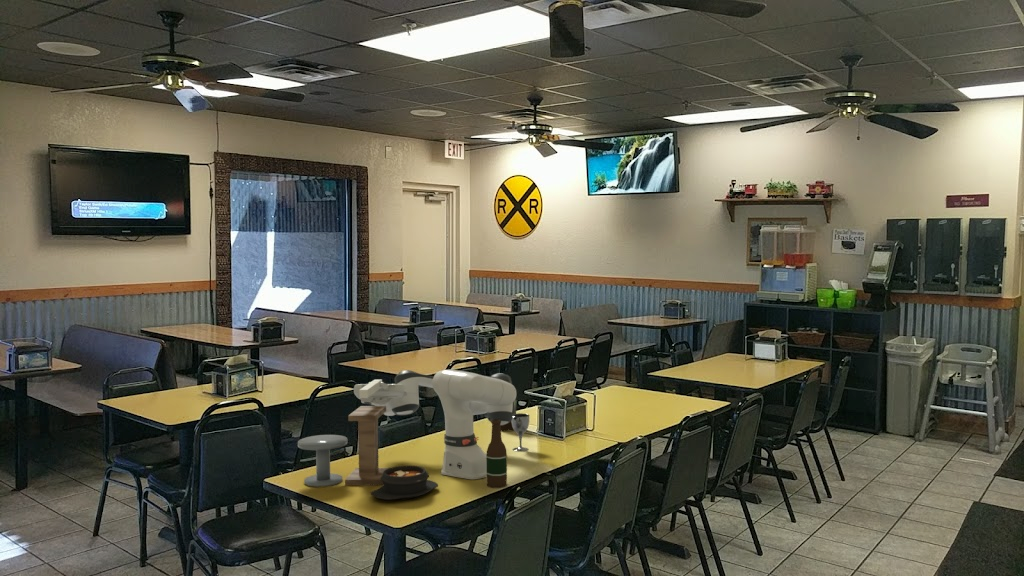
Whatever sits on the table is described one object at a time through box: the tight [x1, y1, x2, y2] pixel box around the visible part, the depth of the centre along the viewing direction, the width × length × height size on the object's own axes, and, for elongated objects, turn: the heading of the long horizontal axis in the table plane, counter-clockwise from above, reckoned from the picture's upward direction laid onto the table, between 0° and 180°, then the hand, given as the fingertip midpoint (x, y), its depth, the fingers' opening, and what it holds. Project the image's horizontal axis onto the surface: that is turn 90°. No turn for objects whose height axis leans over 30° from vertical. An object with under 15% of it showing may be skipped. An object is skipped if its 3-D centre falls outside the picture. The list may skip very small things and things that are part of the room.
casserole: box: [370, 465, 439, 501], centre depth 260 cm, size 25×19×8 cm
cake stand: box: [297, 434, 348, 488], centre depth 277 cm, size 18×18×16 cm
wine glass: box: [511, 412, 530, 453], centre depth 321 cm, size 8×8×15 cm
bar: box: [359, 379, 383, 398], centre depth 285 cm, size 24×3×3 cm, turn 177°
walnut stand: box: [344, 405, 390, 486], centre depth 279 cm, size 18×14×26 cm
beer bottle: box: [486, 419, 508, 489], centre depth 270 cm, size 8×8×24 cm
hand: (375, 383), depth 293 cm, fingers closed on bar, 3 cm apart
